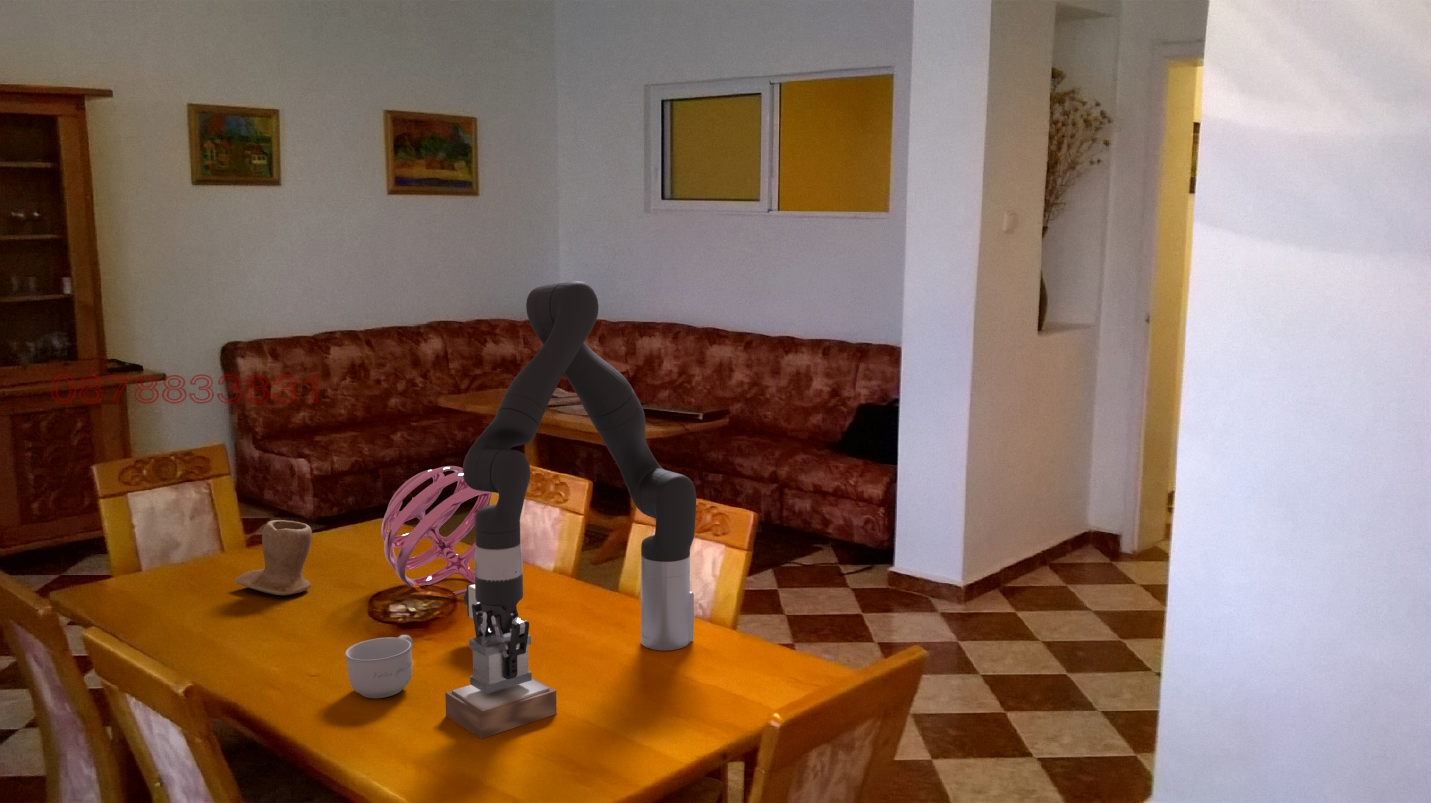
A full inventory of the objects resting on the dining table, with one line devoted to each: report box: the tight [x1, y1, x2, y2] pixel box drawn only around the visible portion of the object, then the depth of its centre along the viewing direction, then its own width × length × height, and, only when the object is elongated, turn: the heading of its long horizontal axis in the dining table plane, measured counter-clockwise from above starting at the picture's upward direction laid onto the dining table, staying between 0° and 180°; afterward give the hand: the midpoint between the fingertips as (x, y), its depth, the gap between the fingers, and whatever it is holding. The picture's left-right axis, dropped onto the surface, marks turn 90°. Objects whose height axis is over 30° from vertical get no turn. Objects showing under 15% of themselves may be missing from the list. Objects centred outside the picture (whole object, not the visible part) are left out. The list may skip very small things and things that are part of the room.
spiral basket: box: [381, 465, 499, 597], centre depth 252 cm, size 28×28×27 cm
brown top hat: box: [235, 519, 313, 596], centre depth 251 cm, size 15×12×15 cm
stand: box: [444, 677, 558, 739], centre depth 190 cm, size 14×11×4 cm
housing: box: [468, 633, 533, 694], centre depth 189 cm, size 8×5×8 cm, turn 132°
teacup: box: [344, 634, 414, 699], centre depth 200 cm, size 14×11×8 cm
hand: (501, 672), depth 190 cm, fingers closed on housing, 5 cm apart
